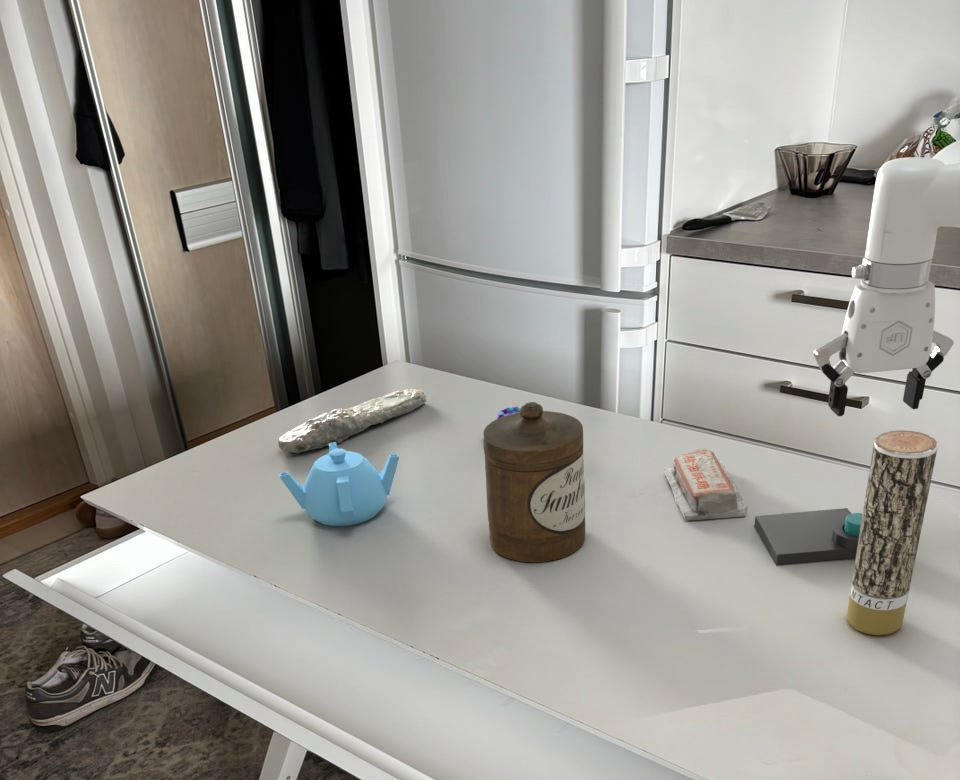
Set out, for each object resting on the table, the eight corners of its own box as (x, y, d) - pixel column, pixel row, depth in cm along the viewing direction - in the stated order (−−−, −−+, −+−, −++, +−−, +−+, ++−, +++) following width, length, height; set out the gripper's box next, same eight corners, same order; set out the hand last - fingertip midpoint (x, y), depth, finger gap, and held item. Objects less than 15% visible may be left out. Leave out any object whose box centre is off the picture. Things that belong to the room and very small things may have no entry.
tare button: (865, 524, 141) (867, 511, 140) (874, 536, 138) (876, 523, 137) (840, 526, 141) (842, 513, 140) (849, 538, 138) (851, 525, 137)
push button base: (853, 518, 149) (857, 497, 147) (885, 559, 139) (889, 538, 137) (754, 526, 150) (755, 506, 148) (777, 568, 139) (780, 547, 137)
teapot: (282, 521, 164) (269, 461, 158) (339, 484, 174) (329, 427, 168) (353, 539, 157) (342, 477, 150) (408, 500, 167) (400, 441, 161)
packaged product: (750, 489, 149) (685, 495, 150) (748, 518, 152) (684, 523, 152) (723, 442, 164) (664, 447, 164) (721, 469, 167) (663, 474, 167)
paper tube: (863, 603, 130) (893, 425, 116) (911, 621, 126) (949, 439, 112) (835, 624, 127) (863, 444, 113) (884, 644, 122) (919, 459, 108)
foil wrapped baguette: (439, 412, 202) (408, 404, 209) (436, 386, 200) (406, 379, 206) (298, 460, 183) (269, 450, 189) (293, 433, 180) (264, 423, 186)
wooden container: (560, 571, 143) (555, 429, 131) (473, 552, 150) (460, 416, 137) (601, 526, 154) (599, 391, 141) (517, 510, 160) (509, 380, 148)
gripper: (835, 287, 114) (817, 426, 124) (982, 274, 114) (952, 413, 124) (813, 271, 120) (797, 404, 130) (952, 258, 121) (926, 392, 130)
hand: (873, 408), depth 127 cm, fingers open, 9 cm apart
